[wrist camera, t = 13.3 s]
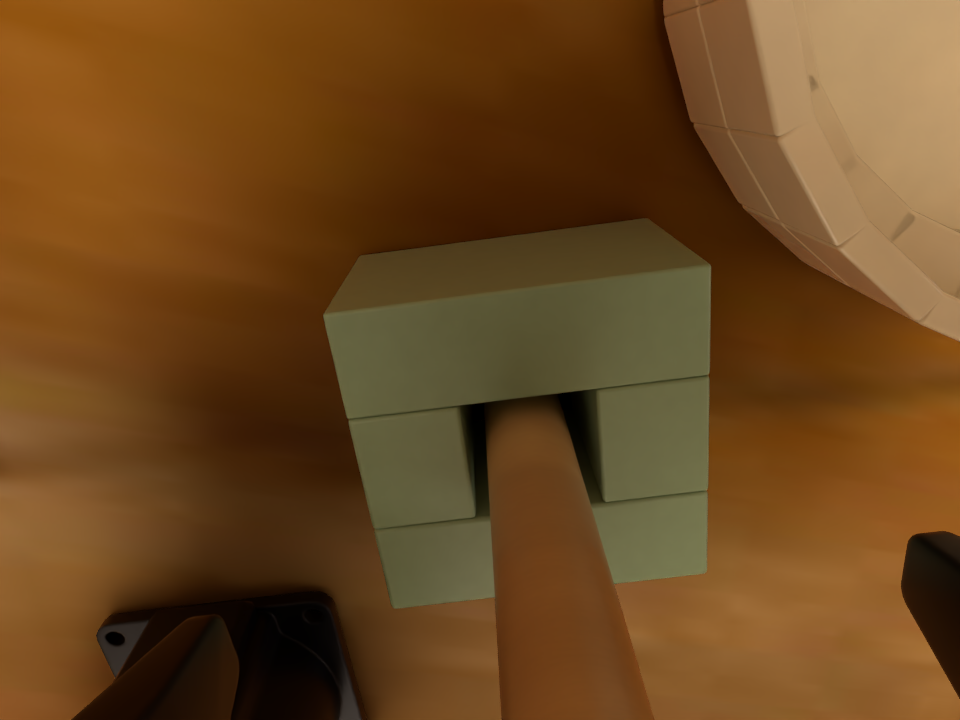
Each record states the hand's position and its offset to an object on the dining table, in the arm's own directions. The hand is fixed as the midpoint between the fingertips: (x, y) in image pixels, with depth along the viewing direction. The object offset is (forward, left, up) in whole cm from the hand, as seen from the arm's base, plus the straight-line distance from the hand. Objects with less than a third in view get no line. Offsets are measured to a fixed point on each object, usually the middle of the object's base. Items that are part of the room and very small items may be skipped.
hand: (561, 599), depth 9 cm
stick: (0, 0, -8) cm, 8 cm away
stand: (0, 0, -8) cm, 8 cm away
